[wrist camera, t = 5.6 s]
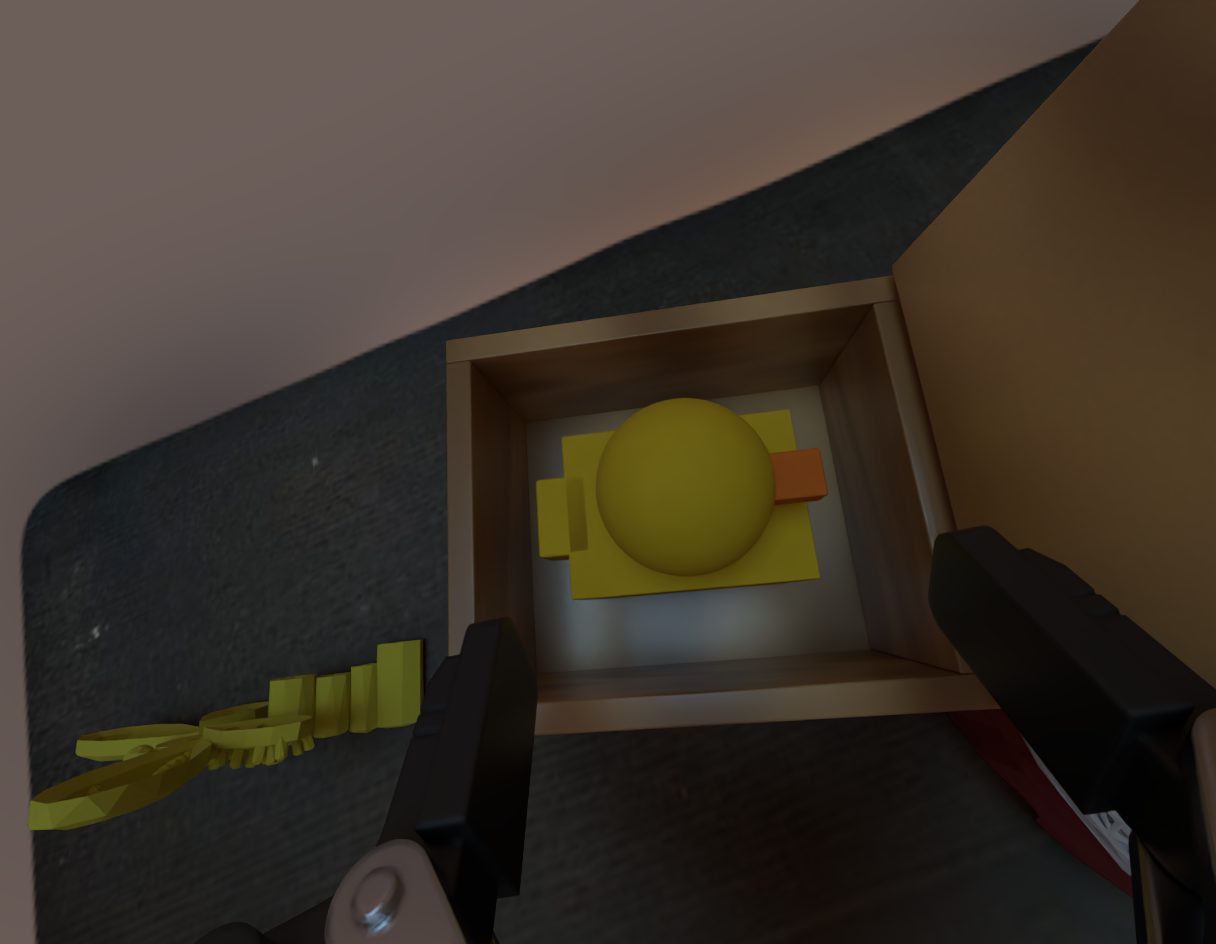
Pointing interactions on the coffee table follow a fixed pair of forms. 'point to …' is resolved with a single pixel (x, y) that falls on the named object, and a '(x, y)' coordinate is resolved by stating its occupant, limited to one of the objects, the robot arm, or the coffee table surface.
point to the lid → (1090, 328)
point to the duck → (683, 503)
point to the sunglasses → (1049, 796)
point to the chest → (720, 618)
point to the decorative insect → (234, 737)
